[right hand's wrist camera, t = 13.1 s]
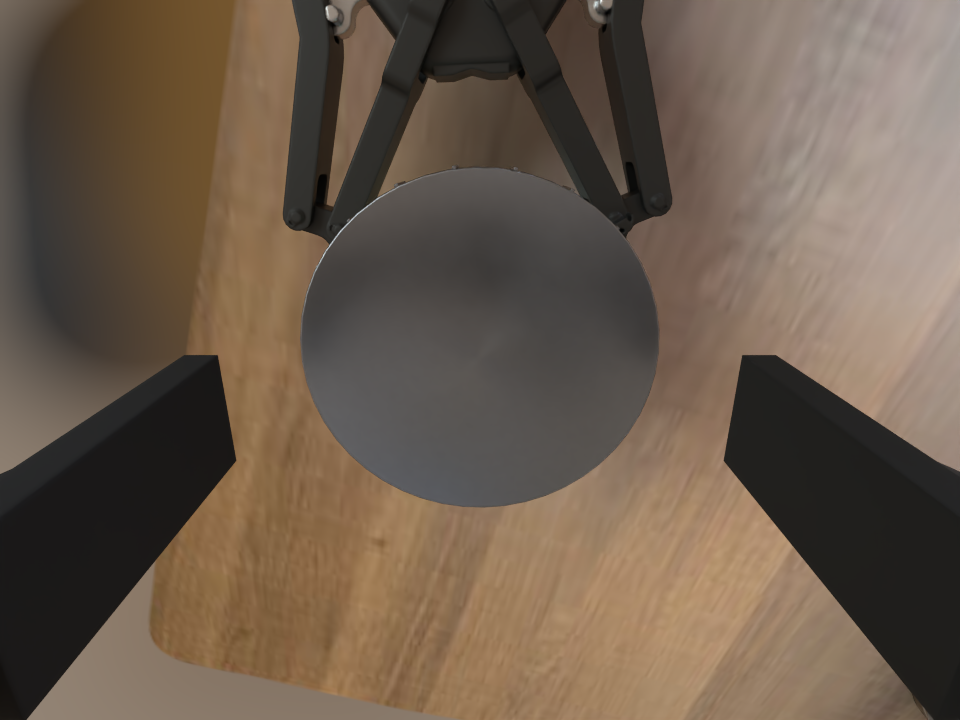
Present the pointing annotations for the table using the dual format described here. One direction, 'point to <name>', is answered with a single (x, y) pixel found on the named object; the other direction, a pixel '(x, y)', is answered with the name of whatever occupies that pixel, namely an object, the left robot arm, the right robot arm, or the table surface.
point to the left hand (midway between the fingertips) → (483, 367)
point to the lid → (479, 337)
